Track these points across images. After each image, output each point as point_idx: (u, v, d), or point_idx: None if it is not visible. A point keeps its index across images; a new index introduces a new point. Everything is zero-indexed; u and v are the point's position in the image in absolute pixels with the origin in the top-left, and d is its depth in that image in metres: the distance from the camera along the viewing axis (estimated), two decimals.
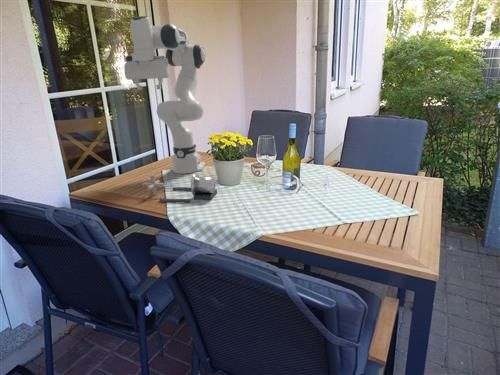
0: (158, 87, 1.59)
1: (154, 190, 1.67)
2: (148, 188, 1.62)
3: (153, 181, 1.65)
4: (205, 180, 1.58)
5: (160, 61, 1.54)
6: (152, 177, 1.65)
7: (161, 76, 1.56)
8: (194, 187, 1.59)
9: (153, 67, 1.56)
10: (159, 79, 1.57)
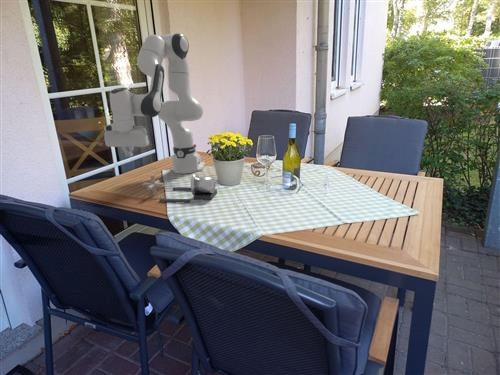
0: (129, 154, 1.63)
1: (154, 190, 1.67)
2: (148, 188, 1.62)
3: (153, 181, 1.65)
4: (205, 180, 1.58)
5: (139, 131, 1.57)
6: (152, 177, 1.65)
7: (140, 145, 1.59)
8: (194, 187, 1.59)
9: (133, 136, 1.59)
10: (130, 147, 1.61)
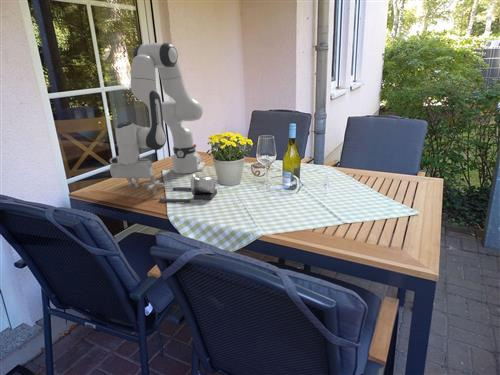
0: (134, 185, 1.67)
1: (154, 190, 1.67)
2: (148, 188, 1.62)
3: (153, 181, 1.65)
4: (205, 180, 1.58)
5: (144, 164, 1.62)
6: (152, 177, 1.65)
7: (145, 177, 1.64)
8: (194, 187, 1.59)
9: (138, 168, 1.63)
10: (135, 179, 1.66)
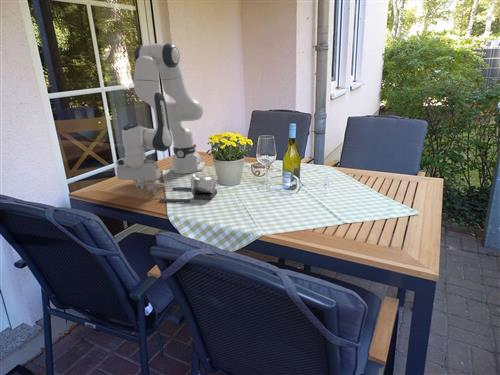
0: (140, 187, 1.68)
1: (154, 190, 1.67)
2: (148, 188, 1.62)
3: (153, 181, 1.65)
4: (205, 180, 1.58)
5: (150, 166, 1.62)
6: None
7: (151, 179, 1.64)
8: (194, 187, 1.59)
9: (144, 170, 1.63)
10: (141, 180, 1.66)
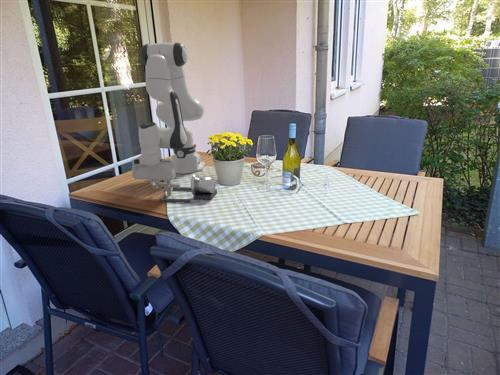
0: (155, 187, 1.65)
1: (169, 190, 1.65)
2: (165, 189, 1.60)
3: (169, 182, 1.63)
4: (205, 180, 1.58)
5: (166, 165, 1.59)
6: None
7: (167, 178, 1.61)
8: (194, 187, 1.59)
9: (160, 169, 1.61)
10: (156, 180, 1.63)
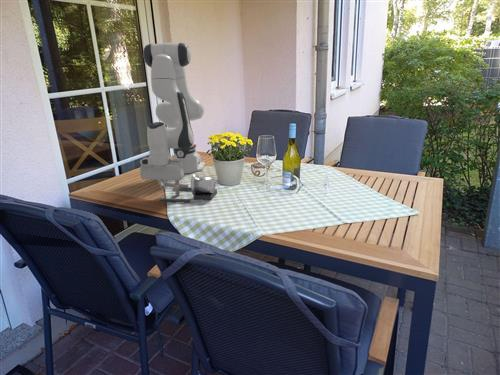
0: (163, 187, 1.64)
1: (177, 191, 1.64)
2: (174, 189, 1.59)
3: (177, 182, 1.63)
4: (205, 180, 1.58)
5: (175, 165, 1.58)
6: None
7: (175, 178, 1.60)
8: (194, 187, 1.59)
9: (168, 170, 1.60)
10: (164, 180, 1.63)
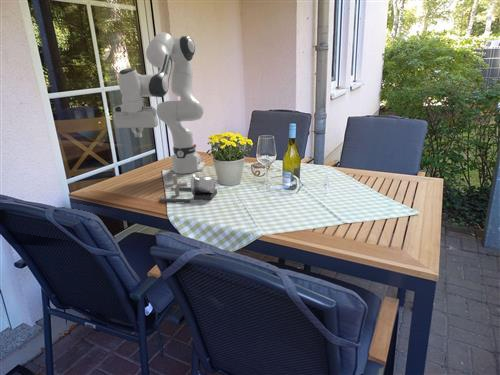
0: (139, 135, 1.64)
1: (177, 190, 1.64)
2: (172, 189, 1.60)
3: (175, 181, 1.63)
4: (205, 180, 1.58)
5: (148, 112, 1.58)
6: (174, 177, 1.62)
7: (149, 126, 1.60)
8: (194, 187, 1.59)
9: (142, 117, 1.60)
10: (139, 128, 1.63)
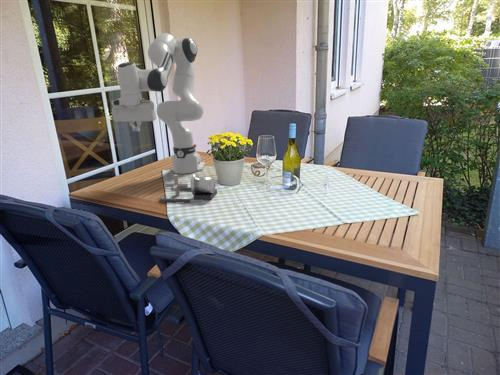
0: (137, 129, 1.65)
1: (177, 191, 1.64)
2: (172, 189, 1.60)
3: (176, 181, 1.63)
4: (205, 180, 1.58)
5: (146, 105, 1.59)
6: (175, 177, 1.62)
7: (147, 119, 1.61)
8: (194, 187, 1.59)
9: (140, 110, 1.60)
10: (137, 122, 1.63)
